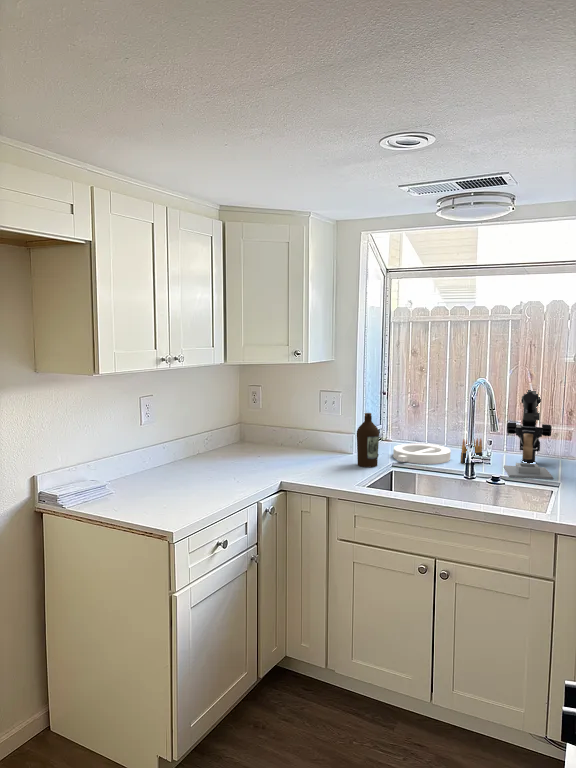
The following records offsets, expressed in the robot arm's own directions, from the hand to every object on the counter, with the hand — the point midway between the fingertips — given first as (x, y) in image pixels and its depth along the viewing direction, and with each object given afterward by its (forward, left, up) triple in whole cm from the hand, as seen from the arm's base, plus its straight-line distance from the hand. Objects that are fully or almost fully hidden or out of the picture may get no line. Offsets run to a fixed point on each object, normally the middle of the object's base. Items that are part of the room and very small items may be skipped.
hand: (527, 444), depth 266 cm
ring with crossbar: (-23, -46, -14) cm, 54 cm away
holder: (-1, 0, -13) cm, 13 cm away
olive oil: (-1, -71, -14) cm, 73 cm away
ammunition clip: (-17, -23, -14) cm, 32 cm away
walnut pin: (-1, 0, -7) cm, 7 cm away
